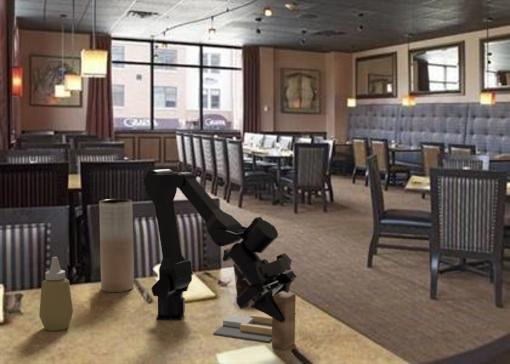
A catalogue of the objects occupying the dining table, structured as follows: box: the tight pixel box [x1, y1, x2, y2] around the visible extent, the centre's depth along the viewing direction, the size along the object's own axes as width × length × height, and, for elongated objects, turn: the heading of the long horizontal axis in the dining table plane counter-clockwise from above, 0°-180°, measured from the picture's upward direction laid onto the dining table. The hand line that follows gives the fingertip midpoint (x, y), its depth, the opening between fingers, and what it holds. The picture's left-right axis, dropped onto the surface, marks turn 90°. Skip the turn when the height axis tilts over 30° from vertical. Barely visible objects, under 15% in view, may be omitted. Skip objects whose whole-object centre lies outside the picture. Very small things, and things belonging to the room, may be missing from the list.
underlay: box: [212, 313, 272, 343], centre depth 139 cm, size 14×12×2 cm
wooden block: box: [271, 291, 296, 350], centre depth 129 cm, size 4×4×12 cm
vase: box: [98, 198, 134, 293], centre depth 174 cm, size 10×10×28 cm
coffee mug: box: [232, 261, 250, 297], centre depth 170 cm, size 12×9×10 cm
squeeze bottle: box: [38, 256, 74, 332], centre depth 139 cm, size 8×8×18 cm
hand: (288, 318), depth 128 cm, fingers closed on wooden block, 4 cm apart
